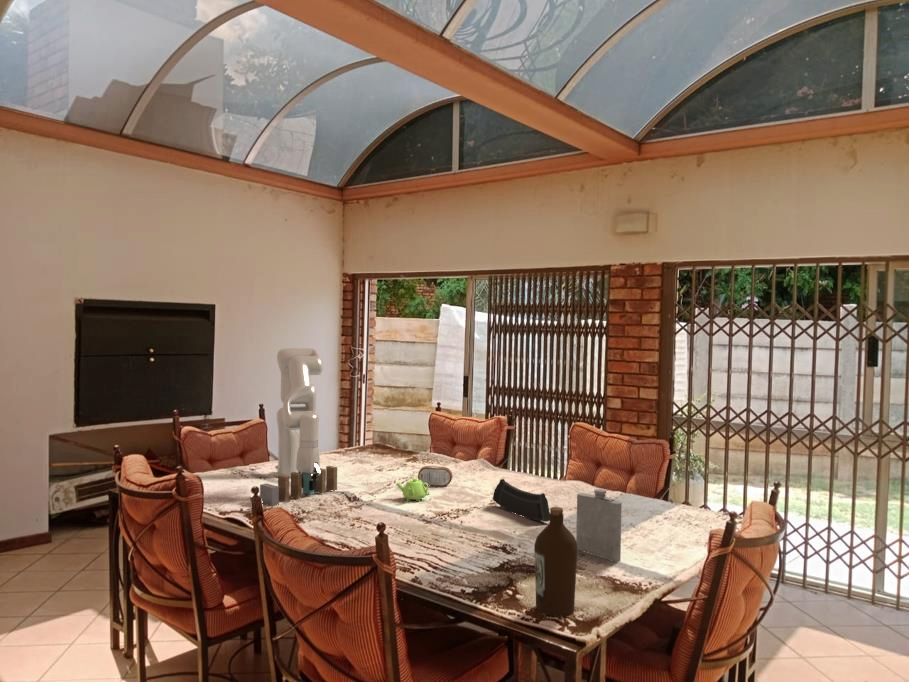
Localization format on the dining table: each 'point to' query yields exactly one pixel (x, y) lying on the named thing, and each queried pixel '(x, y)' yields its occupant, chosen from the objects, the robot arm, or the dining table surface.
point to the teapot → (414, 489)
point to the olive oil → (555, 567)
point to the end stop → (269, 494)
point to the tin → (435, 475)
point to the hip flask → (599, 525)
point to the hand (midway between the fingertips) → (308, 488)
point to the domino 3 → (307, 483)
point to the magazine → (522, 502)
